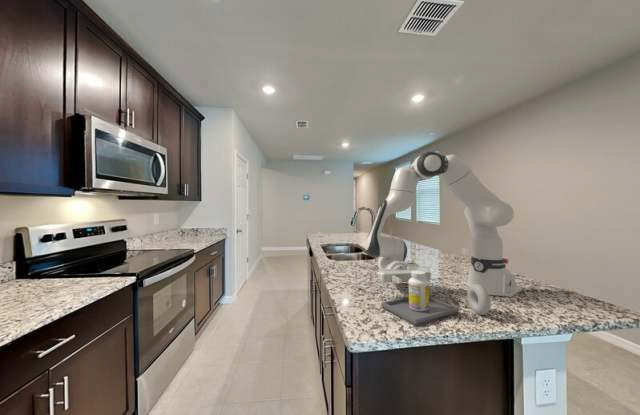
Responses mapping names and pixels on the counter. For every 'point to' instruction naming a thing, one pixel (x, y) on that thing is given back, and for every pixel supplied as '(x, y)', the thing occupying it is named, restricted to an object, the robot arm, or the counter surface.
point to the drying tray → (417, 317)
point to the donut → (478, 299)
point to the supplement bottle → (418, 291)
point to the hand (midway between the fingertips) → (413, 280)
